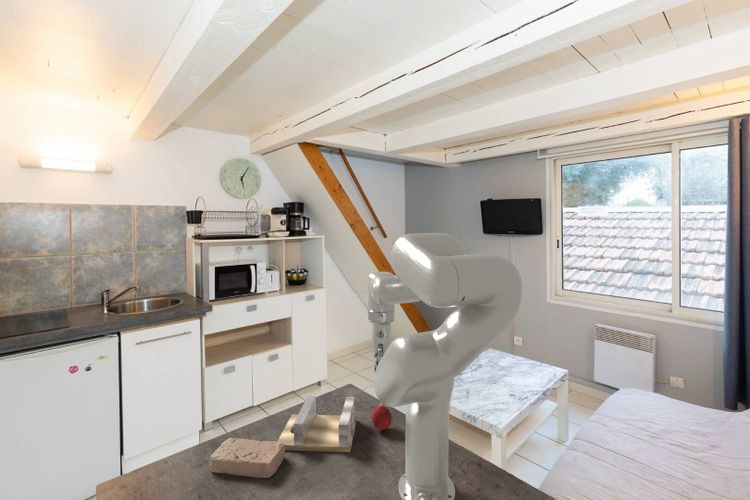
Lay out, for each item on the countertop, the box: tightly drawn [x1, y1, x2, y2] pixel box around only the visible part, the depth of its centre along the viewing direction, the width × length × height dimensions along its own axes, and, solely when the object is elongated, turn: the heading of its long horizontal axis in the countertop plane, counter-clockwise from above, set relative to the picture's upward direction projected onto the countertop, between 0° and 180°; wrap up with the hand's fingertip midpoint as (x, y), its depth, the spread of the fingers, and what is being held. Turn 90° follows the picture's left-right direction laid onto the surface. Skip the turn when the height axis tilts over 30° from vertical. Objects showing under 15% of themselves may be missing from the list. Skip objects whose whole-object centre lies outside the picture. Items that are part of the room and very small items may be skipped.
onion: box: [371, 402, 393, 431], centre depth 103 cm, size 6×6×8 cm
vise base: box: [276, 396, 357, 453], centre depth 101 cm, size 15×20×8 cm
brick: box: [209, 437, 286, 479], centre depth 88 cm, size 17×8×5 cm, turn 80°
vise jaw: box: [290, 395, 317, 445], centre depth 101 cm, size 15×4×6 cm, turn 177°
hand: (381, 373), depth 102 cm, fingers open, 9 cm apart
